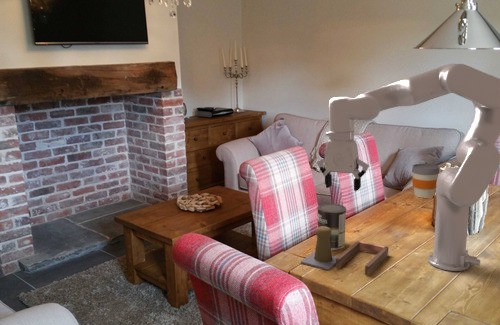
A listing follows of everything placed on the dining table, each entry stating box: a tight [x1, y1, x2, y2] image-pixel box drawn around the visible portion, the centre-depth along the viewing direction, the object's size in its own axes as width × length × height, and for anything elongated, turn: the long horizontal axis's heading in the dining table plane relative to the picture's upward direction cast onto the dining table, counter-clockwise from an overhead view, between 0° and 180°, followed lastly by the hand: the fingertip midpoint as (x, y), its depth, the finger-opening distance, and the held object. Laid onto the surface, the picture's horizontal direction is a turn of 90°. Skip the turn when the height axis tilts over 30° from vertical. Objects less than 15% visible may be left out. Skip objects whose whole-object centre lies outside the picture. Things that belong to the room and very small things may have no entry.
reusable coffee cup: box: [411, 163, 440, 198], centre depth 221 cm, size 12×13×15 cm
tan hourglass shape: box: [314, 226, 333, 262], centre depth 151 cm, size 6×6×11 cm
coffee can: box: [316, 203, 347, 251], centre depth 164 cm, size 10×10×14 cm
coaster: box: [300, 251, 338, 271], centre depth 152 cm, size 10×10×1 cm
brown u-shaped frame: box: [335, 240, 389, 276], centre depth 151 cm, size 11×18×3 cm, turn 145°
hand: (342, 188), depth 147 cm, fingers open, 9 cm apart
